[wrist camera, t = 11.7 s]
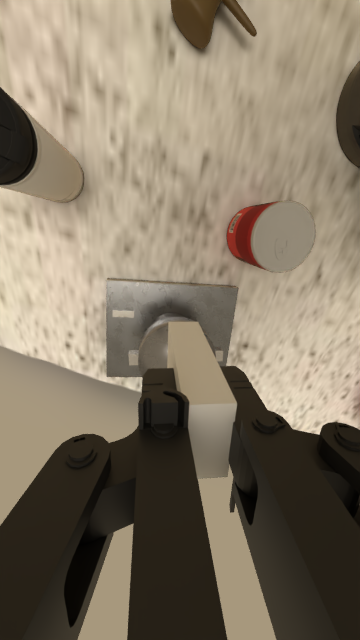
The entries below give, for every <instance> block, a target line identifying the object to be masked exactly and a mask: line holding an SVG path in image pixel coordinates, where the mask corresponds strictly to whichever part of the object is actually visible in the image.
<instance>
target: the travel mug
mask: <svg viewBox="0 0 360 640" xmlns="http://www.w3.org/2000/svg"><path fill="white" fill-rule="evenodd" d="M83 184H84V176H83V171H82V168H81V166H80V164H79V163H78V161H77V160H76V159H75V158H74V157H73V156H72V155H71V154H70V153H69V152H68V151H67V150H66V149H65V148H64V147H63V146H62V145H61V144H60V143H59V142H58V141H57V140H56V139H55V138H54V137H53V136H52V135H51V134H49V133H48V132H47V131H46V130H45V129H44V128H43V127H42V126H41V125H40V124H39V123H38V122H37V121H36V120H35V119H34V118H33V117H32V116H31V115H30V114H29V113H28V112H27V111H26V110H25V109H23V108H22V106H20V105H19V104H18V103H17V102H16V101H15V100H14V99H13V98H11V97H10V96H9V95H8V94H7V93H6V92H5V91H4V90H3V89H2V88H1V87H0V187H2V188H6V189H10V190H14V191H17V192H21V193H25V194H29V195H33V196H37V197H40V198H44V199H48V200H52V201H56V202H69V201H72V200H74V199H75V198H76V197H77V196H78V195H79V194H80V193H81V191H82V188H83Z"/></svg>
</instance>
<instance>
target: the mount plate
mask: <svg viewBox="0 0 360 640" xmlns="http://www.w3.org/2000/svg"><path fill="white" fill-rule="evenodd" d="M237 293H238V288H237V287H236V286H225V285H208V284H192V283H175V282H159V281H143V280H126V279H110V278H108V279H107V377H142V376H141V373H140V371H139V366H138V365H130V366H129V350H139V344H140V341H141V338H142V336H143V335H144V333H145V332H146V330H147V329H148V328H149V327H150V326H152V325H153V324H154V323H156V322H157V321H160V320H162V319H165V318H169V317H185V318H188V319H191V320H193V321H195V322H199V325H200V326H202V328H203V329H204V330H205V331H206V333H207V334H208V336H209V338H210V340H211V341H212V343H213V345H214V347H221V348H222V349H223V361H217V362H218V364H219V366H226V363H227V356H228V350H229V344H230V337H231V331H232V325H233V319H234V312H235V306H236V300H237Z"/></svg>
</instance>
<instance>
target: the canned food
mask: <svg viewBox="0 0 360 640" xmlns="http://www.w3.org/2000/svg"><path fill="white" fill-rule="evenodd" d="M315 233H316V230H315V223H314V219H313V217H312V215H311V213H310V212H309V210H308V209H307V208H306V207H305V206H303V205H302V204H300V203H298V202H294V201H279V202H272V203H267V204H261V205H256V206H250V207H247V208H244V209H242V210H241V211H239V212H238V213H237V214H236V215H235V216H234V218H233V219H232V221H231V222H230V224H229V227H228V231H227V242H228V246H229V249H230V251H231V252H232V254H233V255H234V256H235V257H236V258H238V259H239V260H241V261H244V262H246V263H249V264H252V265H254V266H257V267H259V268H262V269H265V270H268V271H271V272H279V273H281V272H287V271H290V270H293V269H294V268H296V267H298V266H299V265H300V264H301V263H303V261H304V260H305V259H306V258H307V257H308V255H309V253H310V252H311V249H312V247H313V244H314V240H315Z"/></svg>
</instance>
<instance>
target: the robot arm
mask: <svg viewBox="0 0 360 640" xmlns="http://www.w3.org/2000/svg"><path fill="white" fill-rule="evenodd" d="M337 131H338V137H339V141H340V144H341V146H342V149H343V151H344V152H345V154H346V156H347V157H348V158H349V159H350V161H351V162H352V163H354V164H355V165H356V166H358V167H360V62H359V63H358V64H357V65H356V67H355V68H354V69H353V71H352V72H351V74H350V76H349V77H348V79H347V81H346V83H345V86H344V88H343V91H342V94H341V97H340V101H339V105H338V112H337ZM138 408H139V409H138V412H139V426H138V427H137V429H136V430H135V431H134V432H133V433H132V434H130V435H129V436H127V437H125V438H123V439H120V440H118V441H115V442H111V443H108V442H107V441H106V440H105V439H104V438H103V437H101V436H98V435H95V434H82V435H79V436H75V437H72V438H70V439H69V440H67V441H65V442H63V443H62V444H61V445H60V446H59V447H58V448H57V449H56V450H55V452H54V453H53V454H52V456H51V457H50V458H49V460H48V461H47V462H46V464H45V465H44V467H43V468H42V469H41V471H40V472H39V473H38V475H37V476H36V478H35V479H34V480H33V482H32V483H31V485H30V486H29V487H28V489H27V490H26V491H25V493H24V494H23V495H22V497H21V498H20V499H19V501H18V502H17V504H16V505H15V506H14V508H13V509H12V510H11V512H10V513H9V515H8V516H7V518H6V519H5V520H4V522H3V523H2V524H1V526H0V640H77V639H78V636H79V633H80V630H81V627H82V625H83V621H84V619H85V616H86V613H87V610H88V607H89V604H90V601H91V598H92V595H93V592H94V589H95V587H96V584H97V581H98V578H99V575H100V572H101V569H102V566H103V563H104V560H105V557H106V554H107V551H108V549H109V545H110V542H111V540H112V537H113V532H115V531H117V530H119V529H121V528H124V527H126V526H128V525H130V524H133V523H134V526H133V545H132V563H131V582H130V600H129V619H128V637H127V640H227V636H226V630H225V625H224V619H223V614H222V609H221V603H220V598H219V592H218V587H217V582H216V577H215V571H214V565H213V560H212V555H211V549H210V544H209V538H208V533H207V528H206V523H205V517H204V511H203V506H202V501H201V496H200V490H199V484H198V479H201V478H217V477H227V476H228V469H229V464H230V467H231V470H232V473H233V476H234V478H233V484H232V491H231V498H230V512H234V508H235V503H236V506H237V509H238V513H239V516H240V519H241V523H242V526H243V529H244V533H245V536H246V539H247V542H248V546H249V549H250V552H251V556H252V559H253V563H254V566H255V569H256V573H257V576H258V579H259V583H260V586H261V589H262V593H263V596H264V599H265V603H266V606H267V609H268V613H269V616H270V619H271V623H272V626H273V629H274V632H275V636H276V639H277V640H360V430H359V429H357V428H355V427H352V426H350V425H347V424H343V423H337V422H333V423H327V424H325V425H323V426H322V429H321V432H320V435H318V434H312V433H307V432H302V431H298V430H294V429H292V428H291V427H290V425H289V424H288V422H287V421H286V420H285V419H284V418H283V417H281V416H280V415H278V414H276V413H275V412H272V411H269V410H267V408H266V407H265V405H264V404H263V402H262V400H261V399H260V397H259V396H258V394H257V392H256V391H255V389H253V386H252V384H251V383H250V382H249V380H248V378H247V376H246V375H245V373H244V372H243V371H241V370H240V369H238V368H237V367H236V366H219V364H218V362H217V360H216V358H215V356H214V354H213V352H212V350H211V348H210V345H209V343H208V341H207V339H206V337H205V335H204V333H203V331H202V329H201V327H200V325H199V322H168V360H167V368H150V369H148V370H147V371H146V372H145V373H144V375H143V381H142V397H141V398H140V401H139V403H138Z"/></svg>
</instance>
